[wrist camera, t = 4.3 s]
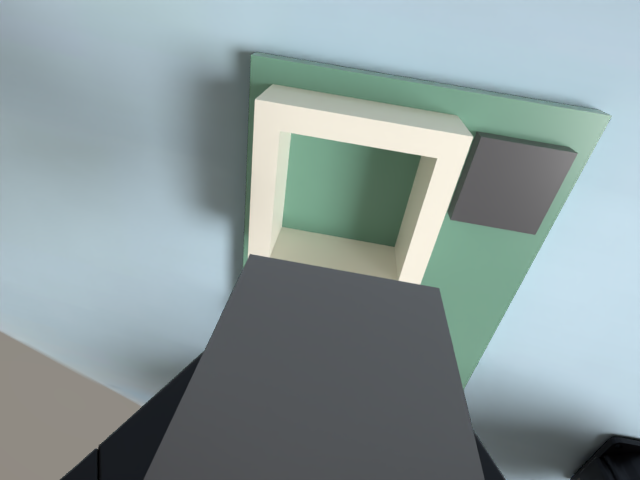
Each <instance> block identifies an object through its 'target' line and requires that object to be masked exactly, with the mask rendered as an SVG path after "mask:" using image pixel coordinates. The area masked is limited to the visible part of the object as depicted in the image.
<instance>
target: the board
mask: <svg viewBox="0 0 640 480" xmlns="http://www.w3.org/2000/svg"><path fill="white" fill-rule="evenodd" d="M272 84H276V85H281V86H287V87H293V88H299V89H305V90H311V91H316V92H322V93H328V94H334V95H340V96H346V97H352V98H357V99H363V100H369V101H375V102H381V103H387V104H393V105H398V106H404V107H410V108H416V109H422V110H428V111H433V112H439V113H445V114H451V115H457V116H458V117H459V118H460V119H461V121H462V122H463V123H464V125H465V126H466V127H467V129H468V130H469V132H470V133H471V134H472V136H473V140H472V142H471V145H470V148H469V151H468V153H467V156H466V159H465V162H464V165H463V167H462V170H461V173H460V176H459V178H458V181H457V184H456V187H455V190H454V192H453V195H452V198H451V201H450V203H449V206H448V209H447V212H446V214H445V217H444V220H443V223H442V226H441V228H440V231H439V234H438V237H437V239H436V242H435V245H434V248H433V251H432V253H431V256H430V259H429V262H428V264H427V267H426V270H425V273H424V276H423V278H422V281H421V284H420V285H425V286H431V287H436V288H439V289H440V293H441V298H442V302H443V306H444V310H445V314H446V319H447V323H448V327H449V331H450V336H451V340H452V344H453V348H454V352H455V357H456V361H457V365H458V369H459V374H460V378H461V382H462V386H463V390H464V388H465V386H466V384H467V382H468V381H469V379H470V377H471V375H472V373H473V371H474V369H475V368H476V366H477V364H478V362H479V360H480V358H481V357H482V355H483V353H484V351H485V349H486V347H487V345H488V344H489V342H490V340H491V338H492V336H493V334H494V333H495V331H496V329H497V327H498V325H499V323H500V321H501V320H502V318H503V316H504V314H505V312H506V310H507V309H508V307H509V305H510V303H511V301H512V299H513V298H514V296H515V294H516V292H517V290H518V288H519V286H520V285H521V283H522V281H523V279H524V277H525V275H526V274H527V272H528V270H529V268H530V266H531V264H532V262H533V261H534V259H535V257H536V255H537V253H538V251H539V250H540V248H541V246H542V244H543V242H544V240H545V238H546V237H547V235H548V233H549V231H550V229H551V227H552V226H553V224H554V222H555V220H556V218H557V216H558V214H559V213H560V211H561V209H562V207H563V205H564V203H565V202H566V200H567V198H568V196H569V194H570V192H571V190H572V189H573V187H574V185H575V183H576V181H577V179H578V178H579V176H580V174H581V172H582V170H583V168H584V166H585V165H586V163H587V161H588V159H589V157H590V155H591V154H592V152H593V150H594V148H595V146H596V144H597V142H598V141H599V139H600V137H601V135H602V133H603V131H604V130H605V128H606V126H607V124H608V122H609V120H610V118H611V117H612V116H611V115H609V114H607V113H605V112H603V111H601V110H597V109H591V108H585V107H579V106H573V105H567V104H561V103H555V102H550V101H544V100H538V99H532V98H526V97H520V96H514V95H508V94H502V93H496V92H490V91H485V90H479V89H473V88H467V87H461V86H455V85H449V84H443V83H437V82H431V81H425V80H420V79H414V78H408V77H402V76H396V75H390V74H384V73H378V72H372V71H366V70H360V69H355V68H349V67H343V66H337V65H331V64H325V63H319V62H313V61H307V60H301V59H295V58H290V57H284V56H278V55H272V54H266V53H260V52H256V53H254V54H251V64H250V91H249V117H248V144H247V171H246V197H245V224H244V250H243V268H244V266H245V264H246V261H247V259H248V241H249V219H250V197H251V175H252V153H253V131H254V109H255V99H256V98H257V97H258V96H259V95H261V94H262V93H263V92H264V91H265V90H266V89H268V88H269V87H270V86H271V85H272ZM420 159H421V155H415V154H409V153H403V152H397V151H392V150H386V149H380V148H374V147H369V146H363V145H357V144H351V143H346V142H340V141H334V140H328V139H323V138H317V137H311V136H305V135H300V134H294V133H291V140H290V150H289V160H288V170H287V180H286V190H285V201H284V211H283V221H282V227H285V228H291V229H297V230H302V231H308V232H313V233H319V234H325V235H330V236H336V237H341V238H347V239H353V240H358V241H364V242H369V243H375V244H380V245H386V246H392V247H395V244H396V241H397V237H398V234H399V230H400V227H401V224H402V220H403V217H404V213H405V210H406V207H407V203H408V200H409V196H410V193H411V190H412V186H413V183H414V179H415V176H416V172H417V169H418V166H419V162H420Z"/></svg>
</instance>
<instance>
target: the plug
mask: <svg viewBox="0 0 640 480" xmlns="http://www.w3.org/2000/svg"><path fill="white" fill-rule="evenodd" d="M144 480H485V479H484V475H483V471H482V466H481V462H480V458H479V454H478V449H477V445H476V441H475V437H474V433H473V428H472V424H471V420H470V416H469V411H468V407H467V403H466V399H465V395H464V390H463V386H462V382H461V378H460V374H459V369H458V365H457V361H456V357H455V352H454V348H453V344H452V340H451V336H450V331H449V327H448V323H447V319H446V314H445V310H444V306H443V302H442V298H441V293H440V289H439V288H436V287H431V286H425V285H420V284H414V283H408V282H403V281H397V280H392V279H386V278H381V277H375V276H370V275H364V274H359V273H353V272H347V271H342V270H336V269H331V268H325V267H320V266H314V265H309V264H303V263H298V262H292V261H286V260H281V259H275V258H270V257H264V256H259V255H253V254H250V255H249V257H248V259H247V261H246V264H245V266H244V268H243V270H242V272H241V274H240V276H239V278H238V280H237V283H236V285H235V287H234V289H233V291H232V293H231V295H230V297H229V300H228V302H227V304H226V306H225V308H224V310H223V312H222V314H221V316H220V319H219V321H218V323H217V325H216V327H215V329H214V331H213V333H212V336H211V338H210V340H209V342H208V344H207V346H206V348H205V350H204V353H203V355H202V357H201V359H200V361H199V363H198V365H197V367H196V369H195V372H194V374H193V376H192V378H191V380H190V382H189V384H188V386H187V389H186V391H185V393H184V395H183V397H182V399H181V401H180V403H179V405H178V408H177V410H176V412H175V414H174V416H173V418H172V420H171V422H170V425H169V427H168V429H167V431H166V433H165V435H164V437H163V439H162V442H161V444H160V446H159V448H158V450H157V452H156V454H155V456H154V458H153V461H152V463H151V465H150V467H149V469H148V471H147V473H146V475H145V478H144Z"/></svg>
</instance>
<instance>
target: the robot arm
mask: <svg viewBox="0 0 640 480" xmlns="http://www.w3.org/2000/svg"><path fill="white" fill-rule="evenodd" d="M203 353H204V352H203ZM203 353H201V354H200V355H199V356H198V357H197V358H196V359H195V360H194V361H193V362H191V363H190V364H189V365H188V366H187V367H186V368H185V369H184V370H182V371H181V372H180V373H179V374H178V375H177V376H176V377H175V378H174V379H172V380H171V381H170V382H169V383H168V384H167V385H166V386H165V387H164V388H162V389H161V390H160V391H159V392H158V393H157V394H156V395H155V396H154V397H152V398H151V399H150V400H149V401H148V402H147V403H146V404H145V405H143V406H142V407H141V408H140V409H139V410H138V411H137V412H136V413H135V414H133V415H132V416H131V417H130V418H129V419H128V420H127V421H126V422H125V423H123V424H122V425H121V426H120V427H119V428H118V429H117V430H116V431H115V432H113V433H112V434H111V435H110V436H109V437H108V438H107V439H106V440H105V441H104V442H102V443H101V444H100V445H99V447H98V449H94V450H93V451H92V452H91V453H90V454H89V455H88V456H86V457H85V458H84V459H83V460H82V461H81V462H80V463H79V464H78V465H76V466H75V467H74V468H73V469H72V470H71V471H69V472H68V473H67V474H66V475H65V476H64V477H62V478H61V479H60V480H144V478H145V475H146V473H147V471H148V469H149V467H150V465H151V463H152V461H153V458H154V456H155V454H156V452H157V450H158V448H159V446H160V444H161V442H162V439H163V437H164V435H165V433H166V431H167V429H168V427H169V425H170V422H171V420H172V418H173V416H174V414H175V412H176V410H177V408H178V405H179V403H180V401H181V399H182V397H183V395H184V393H185V391H186V389H187V386H188V384H189V382H190V380H191V378H192V376H193V374H194V372H195V369H196V367H197V365H198V363H199V361H200V359H201V357H202V355H203ZM473 433H474V437H475V441H476V445H477V449H478V454H479V458H480V462H481V466H482V471H483V475H484V479H485V480H506V479H505V478H504V476H503V475H502V473H501V472H500V470H499V469H498V467H497V466H496V464H495V463H494V461H493V459H492V458H491V456H490V455H489V453H488V452H487V450H486V449H485V447H484V446H483V444H482V443H481V441H480V440H479V438H478V436H477V435H476V433H475V432H474V430H473ZM570 480H640V441H637V440H632V439H626V438H621V437H613V438H610V439H609V440H608V441H607V442H606V443H605V444H604V445H603V446H602V447H601V448H600V449H599V450H598V451H597V452H596V453H595V454H594V455H593V456H592V457H591V458H590V459H589V460H588V461H587V462H586V463H585V464H584V465H583V466H582V467H581V469H580V470H579V471H578V472H577V473H576V474H575V475H574V476H573V477H572V478H571V479H570Z"/></svg>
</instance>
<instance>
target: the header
mask: <svg viewBox="0 0 640 480" xmlns="http://www.w3.org/2000/svg"><path fill="white" fill-rule="evenodd" d="M291 133H294V134H300V135H305V136H311V137H317V138H323V139H328V140H334V141H340V142H346V143H351V144H357V145H363V146H369V147H374V148H380V149H386V150H392V151H397V152H403V153H409V154H415V155H421V159H420V162H419V166H418V169H417V172H416V176H415V179H414V183H413V186H412V190H411V193H410V196H409V200H408V203H407V207H406V210H405V213H404V217H403V220H402V224H401V227H400V230H399V234H398V237H397V241H396V244H395V247H392V246H386V245H380V244H375V243H369V242H364V241H358V240H353V239H347V238H341V237H336V236H330V235H325V234H319V233H313V232H308V231H302V230H297V229H291V228H285V227H282V221H283V211H284V201H285V190H286V180H287V170H288V160H289V150H290V140H291ZM472 140H473V136H472V134H471V133H470V132H469V130H468V129H467V127H466V126H465V125H464V123H463V122H462V121H461V119H460V118H459V117H458V116H457V115H451V114H445V113H439V112H433V111H428V110H422V109H416V108H410V107H404V106H398V105H393V104H387V103H381V102H375V101H369V100H363V99H357V98H352V97H346V96H340V95H334V94H328V93H322V92H316V91H311V90H305V89H299V88H293V87H287V86H281V85H276V84H272V85H271V86H270V87H269V88H268V89H266V90H265V91H264V92H263V93H262V94H261V95H259V96H258V97H257V98H256V99H255V109H254V131H253V153H252V175H251V197H250V219H249V241H248V257H249V255H250V254H253V255H259V256H264V257H270V258H275V259H281V260H286V261H292V262H298V263H303V264H309V265H314V266H320V267H325V268H331V269H336V270H342V271H347V272H353V273H359V274H364V275H370V276H375V277H381V278H386V279H392V280H397V281H403V282H408V283H414V284H421V281H422V278H423V276H424V273H425V270H426V267H427V264H428V262H429V259H430V256H431V253H432V251H433V248H434V245H435V242H436V239H437V237H438V234H439V231H440V228H441V226H442V223H443V220H444V217H445V214H446V212H447V209H448V206H449V203H450V201H451V198H452V195H453V192H454V190H455V187H456V184H457V181H458V178H459V176H460V173H461V170H462V167H463V165H464V162H465V159H466V156H467V153H468V151H469V148H470V145H471V142H472Z"/></svg>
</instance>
